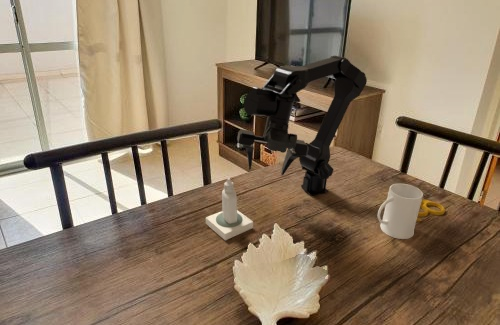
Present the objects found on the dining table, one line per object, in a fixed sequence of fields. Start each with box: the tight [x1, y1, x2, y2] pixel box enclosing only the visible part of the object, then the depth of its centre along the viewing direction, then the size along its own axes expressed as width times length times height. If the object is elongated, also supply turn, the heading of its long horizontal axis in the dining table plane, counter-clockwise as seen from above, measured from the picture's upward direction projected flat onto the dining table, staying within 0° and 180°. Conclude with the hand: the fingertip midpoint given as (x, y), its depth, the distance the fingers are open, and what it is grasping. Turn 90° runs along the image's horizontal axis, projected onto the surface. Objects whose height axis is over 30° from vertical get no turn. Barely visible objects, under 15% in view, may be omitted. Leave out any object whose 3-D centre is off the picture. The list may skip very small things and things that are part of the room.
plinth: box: [205, 209, 254, 241], centre depth 98 cm, size 9×9×2 cm
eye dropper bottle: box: [221, 177, 238, 224], centre depth 95 cm, size 4×6×12 cm
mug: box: [377, 183, 424, 240], centre depth 96 cm, size 12×8×12 cm
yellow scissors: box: [416, 198, 446, 222], centre depth 108 cm, size 17×2×10 cm
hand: (265, 172), depth 101 cm, fingers open, 9 cm apart
